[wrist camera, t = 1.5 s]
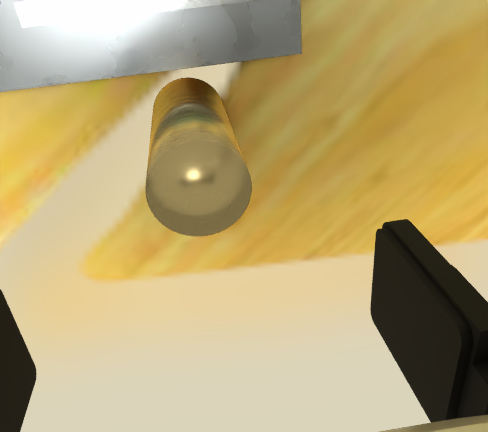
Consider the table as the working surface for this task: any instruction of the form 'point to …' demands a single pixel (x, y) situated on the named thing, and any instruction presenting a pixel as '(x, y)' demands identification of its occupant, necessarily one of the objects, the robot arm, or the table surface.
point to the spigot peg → (195, 161)
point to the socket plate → (137, 37)
